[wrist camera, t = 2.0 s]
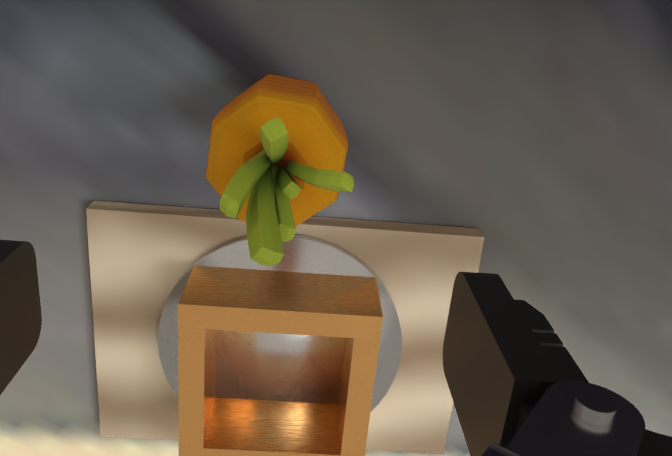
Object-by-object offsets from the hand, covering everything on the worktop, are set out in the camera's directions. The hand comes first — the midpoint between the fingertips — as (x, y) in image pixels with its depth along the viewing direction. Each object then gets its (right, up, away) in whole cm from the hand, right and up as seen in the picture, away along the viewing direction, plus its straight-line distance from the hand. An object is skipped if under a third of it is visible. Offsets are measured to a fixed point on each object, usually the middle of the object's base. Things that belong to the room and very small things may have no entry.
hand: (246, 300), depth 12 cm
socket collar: (-1, -5, +22) cm, 23 cm away
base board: (-1, -4, +23) cm, 24 cm away
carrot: (-1, +8, +19) cm, 20 cm away
